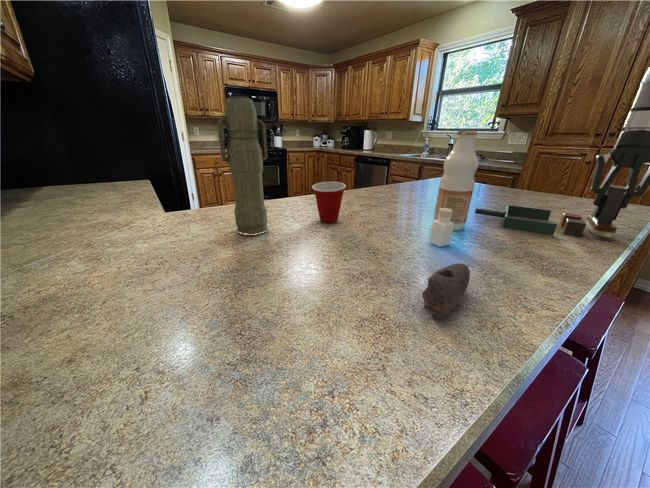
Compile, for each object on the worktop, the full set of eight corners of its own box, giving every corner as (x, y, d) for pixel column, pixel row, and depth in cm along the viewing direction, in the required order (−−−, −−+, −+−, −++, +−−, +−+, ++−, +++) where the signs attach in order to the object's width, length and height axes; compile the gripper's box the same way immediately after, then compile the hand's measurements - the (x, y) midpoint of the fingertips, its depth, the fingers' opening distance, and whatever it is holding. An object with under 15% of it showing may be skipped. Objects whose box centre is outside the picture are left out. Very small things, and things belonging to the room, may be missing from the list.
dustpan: (547, 220, 92) (551, 210, 91) (553, 235, 78) (557, 224, 77) (477, 209, 103) (479, 200, 102) (471, 221, 89) (473, 211, 88)
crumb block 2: (578, 233, 81) (583, 220, 79) (581, 237, 78) (586, 224, 76) (561, 230, 83) (566, 218, 81) (563, 234, 80) (568, 221, 78)
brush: (601, 226, 83) (621, 184, 78) (612, 238, 74) (634, 191, 69) (584, 223, 85) (602, 182, 80) (593, 235, 76) (613, 189, 71)
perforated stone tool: (448, 281, 54) (455, 249, 51) (476, 291, 51) (485, 258, 48) (411, 313, 44) (417, 277, 42) (442, 329, 41) (451, 290, 38)
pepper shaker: (438, 240, 74) (445, 206, 71) (450, 245, 71) (458, 210, 67) (428, 242, 73) (434, 208, 69) (439, 247, 69) (446, 212, 66)
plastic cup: (305, 221, 88) (304, 184, 83) (326, 214, 96) (326, 180, 91) (330, 228, 82) (331, 189, 77) (351, 220, 89) (353, 184, 85)
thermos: (277, 231, 79) (269, 97, 65) (237, 239, 73) (219, 93, 59) (266, 223, 86) (256, 100, 72) (228, 230, 80) (210, 96, 66)
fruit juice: (426, 223, 87) (441, 130, 76) (447, 219, 91) (464, 130, 80) (449, 232, 80) (470, 130, 69) (471, 228, 83) (494, 131, 72)
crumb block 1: (575, 226, 86) (579, 214, 85) (577, 230, 83) (582, 217, 82) (559, 224, 88) (563, 212, 87) (560, 227, 85) (565, 215, 84)
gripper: (683, 130, 67) (638, 219, 77) (597, 129, 75) (566, 210, 85) (698, 130, 62) (648, 226, 71) (603, 129, 70) (569, 215, 79)
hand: (603, 217), depth 78 cm, fingers closed on brush, 3 cm apart
